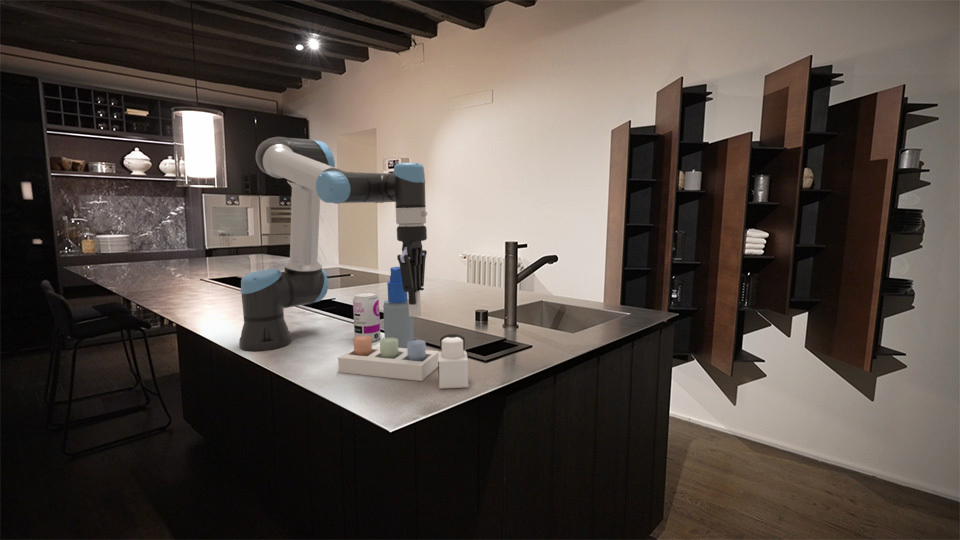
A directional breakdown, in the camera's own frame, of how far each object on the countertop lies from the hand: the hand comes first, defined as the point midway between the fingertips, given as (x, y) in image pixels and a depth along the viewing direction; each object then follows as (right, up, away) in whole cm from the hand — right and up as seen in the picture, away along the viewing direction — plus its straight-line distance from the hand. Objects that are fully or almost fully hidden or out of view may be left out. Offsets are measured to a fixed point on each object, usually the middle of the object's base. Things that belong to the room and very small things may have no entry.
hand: (415, 315), depth 126 cm
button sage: (-7, -12, +4) cm, 15 cm away
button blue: (0, -12, +2) cm, 12 cm away
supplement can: (-20, -11, +32) cm, 39 cm away
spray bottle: (-8, -12, +23) cm, 27 cm away
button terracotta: (-15, -11, +6) cm, 20 cm away
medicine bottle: (+10, -16, -6) cm, 20 cm away
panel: (-7, -15, +5) cm, 17 cm away
